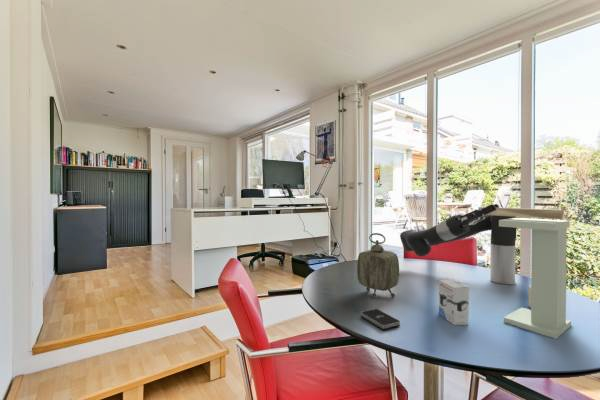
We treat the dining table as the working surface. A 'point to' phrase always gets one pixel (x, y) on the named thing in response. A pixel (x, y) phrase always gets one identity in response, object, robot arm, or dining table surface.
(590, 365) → the dining table surface
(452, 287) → the ink box
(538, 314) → the shelf stand
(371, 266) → the tabletop clock
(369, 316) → the external hard drive
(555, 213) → the ash rod
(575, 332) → the dining table surface
